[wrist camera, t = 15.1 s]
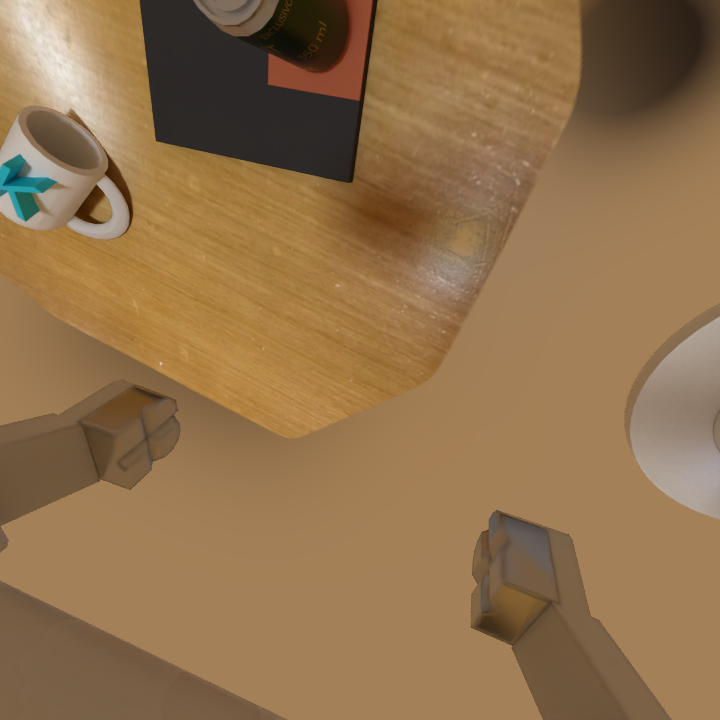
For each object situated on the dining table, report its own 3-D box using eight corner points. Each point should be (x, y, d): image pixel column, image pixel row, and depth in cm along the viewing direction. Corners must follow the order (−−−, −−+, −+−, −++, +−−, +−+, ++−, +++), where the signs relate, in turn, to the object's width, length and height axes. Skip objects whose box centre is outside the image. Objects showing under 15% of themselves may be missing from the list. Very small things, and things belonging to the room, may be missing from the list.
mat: (382, -35, 26) (378, -42, 25) (352, 182, 33) (348, 183, 32) (141, -62, 29) (129, -70, 28) (163, 141, 36) (154, 140, 35)
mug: (-57, 210, 35) (-20, 127, 30) (8, 172, 41) (48, 96, 36) (72, 290, 42) (122, 234, 36) (111, 247, 48) (159, 193, 42)
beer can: (301, -37, 26) (187, -158, 16) (364, 6, 26) (290, -87, 16) (275, 50, 29) (165, -5, 19) (332, 89, 29) (252, 54, 19)
